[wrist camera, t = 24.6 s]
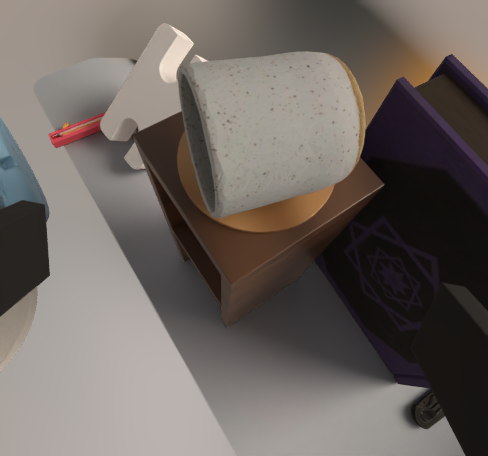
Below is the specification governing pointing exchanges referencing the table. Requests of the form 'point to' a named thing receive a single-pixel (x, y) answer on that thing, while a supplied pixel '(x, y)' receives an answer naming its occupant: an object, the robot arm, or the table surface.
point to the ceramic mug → (270, 127)
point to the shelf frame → (262, 282)
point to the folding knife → (427, 411)
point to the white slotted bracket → (148, 90)
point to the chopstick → (76, 131)
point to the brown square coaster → (251, 221)
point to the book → (417, 213)
